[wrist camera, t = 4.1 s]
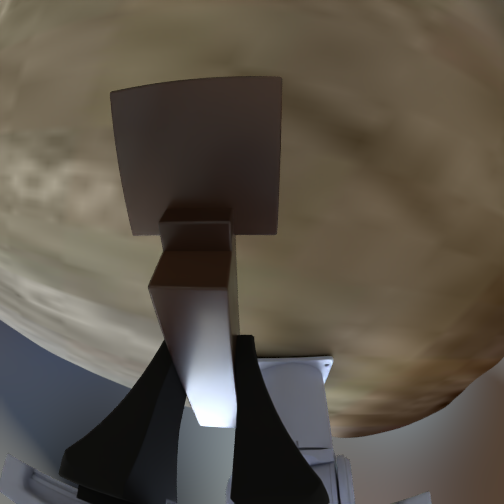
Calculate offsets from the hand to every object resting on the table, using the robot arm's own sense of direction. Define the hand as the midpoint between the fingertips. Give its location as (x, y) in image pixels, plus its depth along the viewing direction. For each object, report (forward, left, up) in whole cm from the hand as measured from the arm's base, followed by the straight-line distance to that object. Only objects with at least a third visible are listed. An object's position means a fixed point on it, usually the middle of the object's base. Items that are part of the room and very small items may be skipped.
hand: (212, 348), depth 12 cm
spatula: (+3, 0, -1) cm, 3 cm away
